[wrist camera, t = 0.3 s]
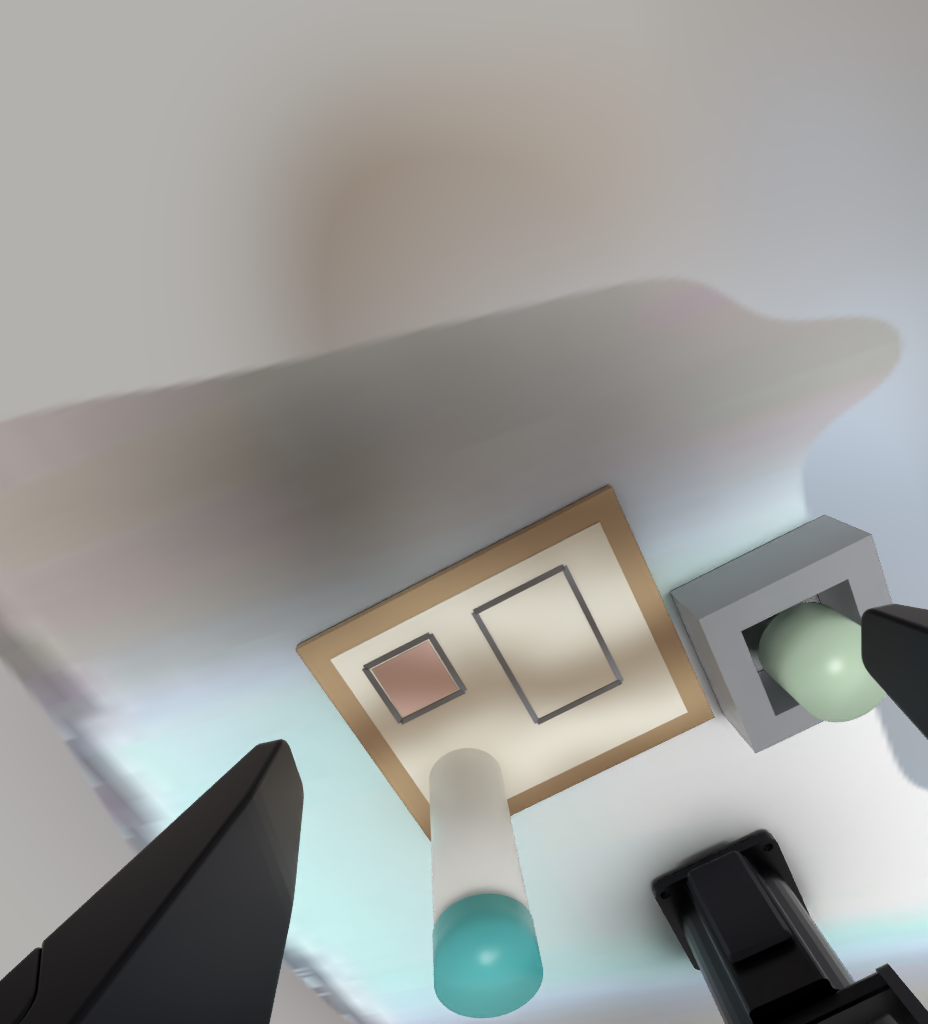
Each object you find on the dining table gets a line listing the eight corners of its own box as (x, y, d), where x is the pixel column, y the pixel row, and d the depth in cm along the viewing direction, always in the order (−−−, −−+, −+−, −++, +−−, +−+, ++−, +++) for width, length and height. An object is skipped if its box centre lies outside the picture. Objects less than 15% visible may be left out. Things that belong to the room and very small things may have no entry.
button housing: (867, 646, 25) (914, 677, 23) (724, 715, 26) (756, 753, 23) (824, 514, 23) (871, 534, 21) (669, 591, 24) (698, 619, 21)
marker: (515, 788, 25) (560, 989, 17) (449, 820, 25) (465, 1033, 18) (481, 734, 24) (514, 921, 16) (414, 768, 24) (414, 968, 17)
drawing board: (710, 711, 25) (716, 719, 25) (437, 843, 26) (437, 853, 26) (608, 485, 22) (613, 488, 21) (297, 645, 23) (294, 652, 22)
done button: (855, 657, 23) (907, 694, 20) (774, 697, 23) (815, 737, 21) (831, 586, 22) (883, 616, 19) (746, 628, 22) (787, 662, 20)
